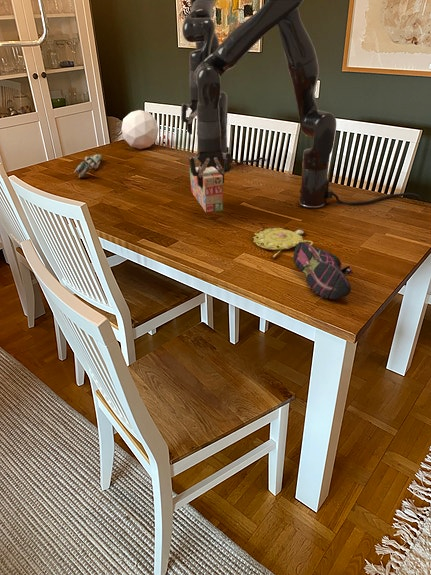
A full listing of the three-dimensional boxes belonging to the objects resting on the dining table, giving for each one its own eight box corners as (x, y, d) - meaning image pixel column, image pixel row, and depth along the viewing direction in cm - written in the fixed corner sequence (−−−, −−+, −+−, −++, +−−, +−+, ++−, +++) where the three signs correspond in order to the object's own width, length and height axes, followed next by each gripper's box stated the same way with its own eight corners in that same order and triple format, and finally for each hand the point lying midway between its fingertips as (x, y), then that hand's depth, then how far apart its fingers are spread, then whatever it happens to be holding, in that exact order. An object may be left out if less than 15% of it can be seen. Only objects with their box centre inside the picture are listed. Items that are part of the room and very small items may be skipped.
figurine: (78, 158, 192) (99, 144, 218) (67, 172, 195) (90, 156, 221) (91, 170, 194) (110, 155, 220) (80, 183, 197) (101, 166, 224)
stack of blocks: (190, 192, 167) (188, 159, 160) (206, 190, 168) (205, 157, 162) (205, 213, 150) (204, 177, 143) (223, 210, 151) (222, 175, 144)
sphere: (134, 159, 245) (115, 127, 242) (165, 142, 247) (146, 110, 244) (133, 150, 226) (112, 115, 223) (166, 132, 228) (146, 97, 226)
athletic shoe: (337, 289, 105) (377, 281, 109) (296, 226, 117) (333, 221, 121) (320, 316, 114) (357, 308, 118) (283, 255, 126) (318, 250, 130)
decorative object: (267, 219, 151) (324, 228, 141) (267, 226, 152) (323, 235, 143) (237, 243, 137) (298, 255, 127) (238, 250, 138) (298, 263, 128)
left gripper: (182, 87, 149) (185, 136, 157) (223, 85, 152) (223, 133, 160) (178, 84, 155) (180, 132, 163) (217, 82, 158) (217, 129, 167)
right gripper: (189, 140, 135) (193, 192, 144) (234, 135, 139) (234, 186, 148) (184, 134, 141) (187, 185, 150) (227, 130, 145) (227, 179, 154)
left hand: (201, 133), depth 162 cm, fingers open, 8 cm apart
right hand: (211, 185), depth 149 cm, fingers closed on stack of blocks, 6 cm apart
